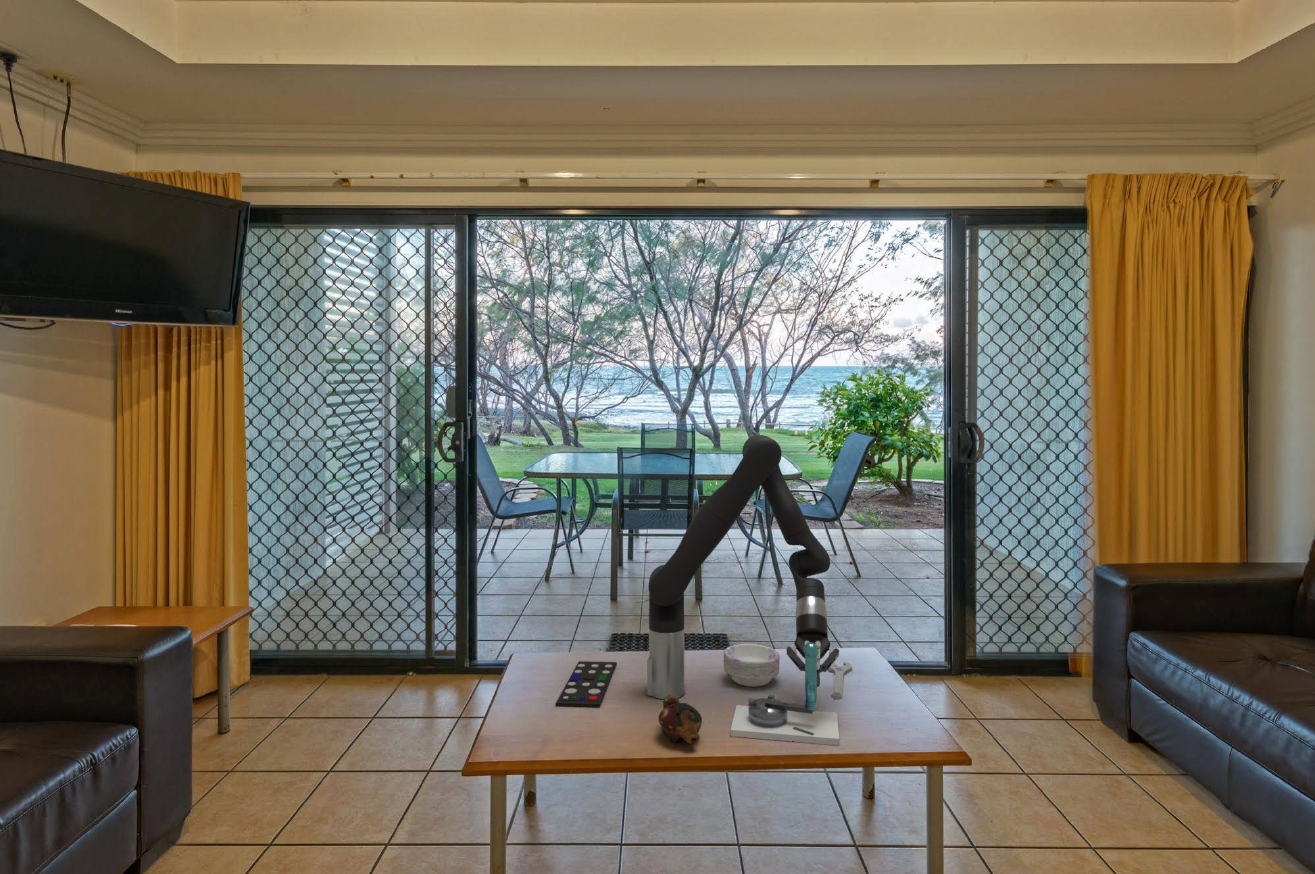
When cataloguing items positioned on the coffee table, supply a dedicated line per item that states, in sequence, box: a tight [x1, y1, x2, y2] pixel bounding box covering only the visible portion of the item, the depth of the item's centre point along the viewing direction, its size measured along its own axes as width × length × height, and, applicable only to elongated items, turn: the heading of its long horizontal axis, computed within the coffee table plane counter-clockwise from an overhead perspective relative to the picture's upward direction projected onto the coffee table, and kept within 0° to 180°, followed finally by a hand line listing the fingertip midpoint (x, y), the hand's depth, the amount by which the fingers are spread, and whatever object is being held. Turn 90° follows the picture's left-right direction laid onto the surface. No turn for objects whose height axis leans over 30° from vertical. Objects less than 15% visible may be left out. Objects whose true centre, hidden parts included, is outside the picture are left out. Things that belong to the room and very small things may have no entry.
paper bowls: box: [723, 643, 781, 688], centre depth 201 cm, size 15×15×8 cm
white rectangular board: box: [730, 704, 840, 746], centre depth 172 cm, size 24×14×2 cm, turn 78°
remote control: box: [555, 660, 618, 709], centre depth 200 cm, size 11×30×2 cm, turn 175°
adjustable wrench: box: [827, 661, 853, 701], centre depth 200 cm, size 25×6×2 cm, turn 159°
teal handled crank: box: [747, 642, 819, 727], centre depth 171 cm, size 16×9×19 cm, turn 69°
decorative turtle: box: [658, 695, 703, 745], centre depth 167 cm, size 10×15×8 cm, turn 27°
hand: (813, 687), depth 171 cm, fingers closed
